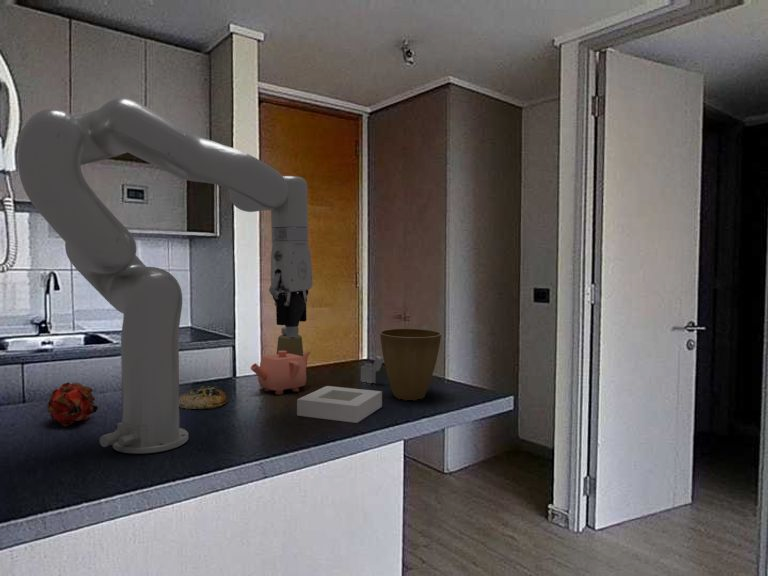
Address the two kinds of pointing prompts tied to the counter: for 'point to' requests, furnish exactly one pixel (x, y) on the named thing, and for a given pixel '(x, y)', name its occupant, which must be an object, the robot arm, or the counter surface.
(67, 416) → the dragon fruit
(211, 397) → the bread roll
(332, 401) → the socket block
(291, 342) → the squeeze bottle
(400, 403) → the counter surface
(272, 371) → the teapot
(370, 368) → the lighter
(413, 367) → the plant pot
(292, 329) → the light bulb
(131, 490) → the counter surface
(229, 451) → the counter surface
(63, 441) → the counter surface
